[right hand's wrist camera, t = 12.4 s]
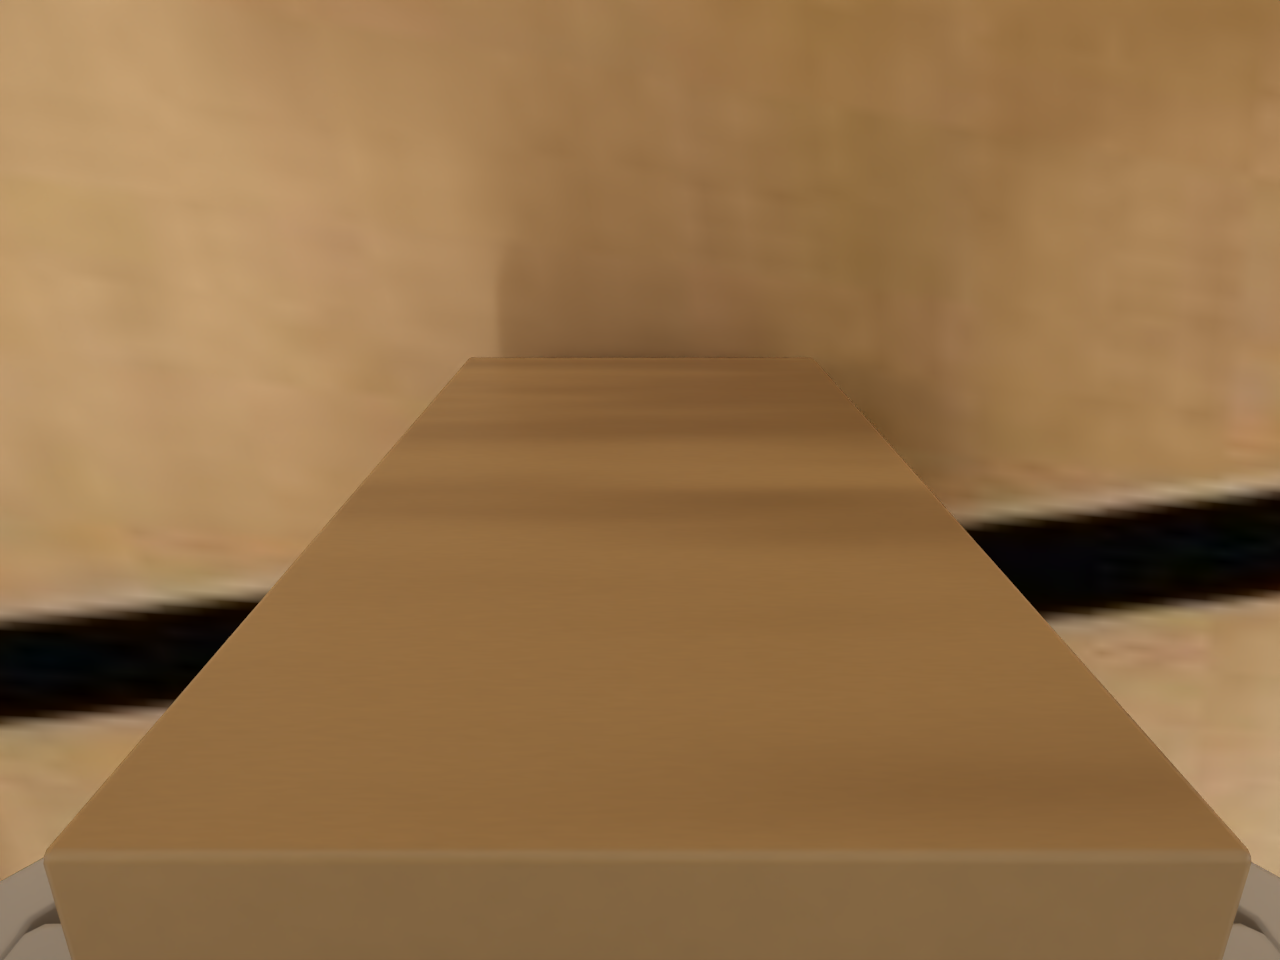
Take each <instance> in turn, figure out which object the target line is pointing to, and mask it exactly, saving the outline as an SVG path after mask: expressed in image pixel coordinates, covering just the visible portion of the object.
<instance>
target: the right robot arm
mask: <svg viewBox="0 0 1280 960" xmlns="http://www.w3.org/2000/svg"><path fill="white" fill-rule="evenodd" d="M43 862H44V858H42V859H40V860H38V861H37V862H35V863H33V864H31V865H29V866H28V867H26V868H24V869H22V870H20V871H18V872H17V873H15V874H13V875H11V876H9V877H8V878H6V879H4V880H2V881H0V960H71V957H70V953H69V950H68V946H67V943H66V939H65V936H64V933H63V929H62V926H61V922H60V919H59V916H58V912H57V909H56V905H55V902H54V899H53V895H52V892H51V888H50V885H49V882H48V878H47V875H46V871H45V868H44V865H43ZM1222 960H1280V877H1278V876H1276V875H1274V874H1272V873H1270V872H1269V871H1267V870H1265V869H1263V868H1261V867H1260V866H1258V865H1256V864H1254V863H1252V862H1251V866H1250V870H1249V873H1248V876H1247V879H1246V883H1245V886H1244V889H1243V893H1242V896H1241V899H1240V903H1239V906H1238V909H1237V912H1236V916H1235V919H1234V922H1233V926H1232V929H1231V932H1230V936H1229V939H1228V942H1227V946H1226V949H1225V952H1224V955H1223V959H1222Z"/></svg>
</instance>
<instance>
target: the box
mask: <svg viewBox="0 0 1280 960" xmlns="http://www.w3.org/2000/svg"><path fill="white" fill-rule="evenodd" d="M43 865H44V868H45V871H46V875H47V878H48V882H49V885H50V888H51V892H52V895H53V899H54V902H55V905H56V909H57V912H58V916H59V919H60V922H61V926H62V929H63V933H64V936H65V939H66V943H67V946H68V950H69V953H70V957H71V960H1222V959H1223V955H1224V952H1225V949H1226V946H1227V942H1228V939H1229V936H1230V932H1231V929H1232V926H1233V922H1234V919H1235V916H1236V912H1237V909H1238V906H1239V903H1240V899H1241V896H1242V893H1243V889H1244V886H1245V883H1246V879H1247V876H1248V873H1249V870H1250V866H1251V856H1250V854H1249V851H1248V849H1247V848H1246V847H1245V845H1244V844H1243V843H1242V842H1241V841H1240V840H1239V839H1238V838H1237V836H1236V835H1235V834H1234V833H1233V832H1232V831H1231V830H1230V829H1229V827H1228V826H1227V825H1226V824H1225V823H1224V822H1223V821H1222V820H1221V818H1220V817H1219V816H1218V815H1217V814H1216V813H1215V812H1214V810H1213V809H1212V808H1211V807H1210V806H1209V805H1208V804H1207V803H1206V801H1205V800H1204V799H1203V798H1202V797H1201V796H1200V795H1199V794H1198V792H1197V791H1196V790H1195V789H1194V788H1193V787H1192V786H1191V785H1190V783H1189V782H1188V781H1187V780H1186V779H1185V778H1184V777H1183V775H1182V774H1181V773H1180V772H1179V771H1178V770H1177V769H1176V768H1175V766H1174V765H1173V764H1172V763H1171V762H1170V761H1169V760H1168V759H1167V757H1166V756H1165V755H1164V754H1163V753H1162V752H1161V751H1160V749H1159V748H1158V747H1157V746H1156V745H1155V744H1154V743H1153V742H1152V740H1151V739H1150V738H1149V737H1148V736H1147V735H1146V734H1145V733H1144V731H1143V730H1142V729H1141V728H1140V727H1139V726H1138V725H1137V724H1136V722H1135V721H1134V720H1133V719H1132V718H1131V717H1130V716H1129V714H1128V713H1127V712H1126V711H1125V710H1124V709H1123V708H1122V707H1121V705H1120V704H1119V703H1118V702H1117V701H1116V700H1115V699H1114V698H1113V696H1112V695H1111V694H1110V693H1109V692H1108V691H1107V690H1106V689H1105V687H1104V686H1103V685H1102V684H1101V683H1100V682H1099V681H1098V679H1097V678H1096V677H1095V676H1094V675H1093V674H1092V673H1091V672H1090V670H1089V669H1088V668H1087V667H1086V666H1085V665H1084V664H1083V663H1082V661H1081V660H1080V659H1079V658H1078V657H1077V656H1076V655H1075V654H1074V652H1073V651H1072V650H1071V649H1070V648H1069V647H1068V646H1067V644H1066V643H1065V642H1064V641H1063V640H1062V639H1061V638H1060V637H1059V635H1058V634H1057V633H1056V632H1055V631H1054V630H1053V629H1052V628H1051V626H1050V625H1049V624H1048V623H1047V622H1046V621H1045V620H1044V619H1043V617H1042V616H1041V615H1040V614H1039V613H1038V612H1037V611H1036V609H1035V608H1034V607H1033V606H1032V605H1031V604H1030V603H1029V602H1028V600H1027V599H1026V598H1025V597H1024V596H1023V595H1022V594H1021V593H1020V591H1019V590H1018V589H1017V588H1016V587H1015V586H1014V585H1013V584H1012V582H1011V581H1010V580H1009V579H1008V578H1007V577H1006V576H1005V574H1004V573H1003V572H1002V571H1001V570H1000V569H999V568H998V567H997V565H996V564H995V563H994V562H993V561H992V560H991V559H990V558H989V556H988V555H987V554H986V553H985V552H984V551H983V550H982V548H981V547H980V546H979V545H978V544H977V543H976V542H975V541H974V539H973V538H972V537H971V536H970V535H969V534H968V533H967V532H966V530H965V529H964V528H963V527H962V526H961V525H960V524H959V523H958V521H957V520H956V519H955V518H954V517H953V516H952V515H951V513H950V512H949V511H948V510H947V509H946V508H945V507H944V506H943V504H942V503H941V502H940V501H939V500H938V499H937V498H936V497H935V495H934V494H933V493H932V492H931V491H930V490H929V489H928V488H927V486H926V485H925V484H924V483H923V482H922V481H921V480H920V478H919V477H918V476H917V475H916V474H915V473H914V472H913V471H912V469H911V468H910V467H909V466H908V465H907V464H906V463H905V462H904V460H903V459H902V458H901V457H900V456H899V455H898V454H897V453H896V451H895V450H894V449H893V448H892V447H891V446H890V445H889V443H888V442H887V441H886V440H885V439H884V438H883V437H882V436H881V434H880V433H879V432H878V431H877V430H876V429H875V428H874V427H873V425H872V424H871V423H870V422H869V421H868V420H867V419H866V418H865V416H864V415H863V414H862V413H861V412H860V411H859V410H858V408H857V407H856V406H855V405H854V404H853V403H852V402H851V401H850V399H849V398H848V397H847V396H846V395H845V394H844V393H843V392H842V390H841V389H840V388H839V387H838V386H837V385H836V384H835V383H834V381H833V380H832V379H831V378H830V377H829V376H828V375H827V373H826V372H825V371H824V370H823V369H822V368H821V367H820V366H819V364H818V363H817V362H816V361H815V360H814V359H813V358H470V359H468V361H467V362H466V363H465V364H464V365H463V366H462V368H461V369H460V370H459V371H458V372H457V373H456V375H455V376H454V377H453V378H452V379H451V380H450V382H449V383H448V384H447V385H446V386H445V387H444V389H443V390H442V391H441V392H440V393H439V394H438V395H437V397H436V398H435V399H434V400H433V401H432V402H431V404H430V405H429V406H428V407H427V408H426V409H425V411H424V412H423V413H422V414H421V415H420V416H419V418H418V419H417V420H416V421H415V422H414V423H413V425H412V426H411V427H410V428H409V429H408V430H407V432H406V433H405V434H404V435H403V436H402V437H401V439H400V440H399V441H398V442H397V443H396V444H395V445H394V447H393V448H392V449H391V450H390V451H389V452H388V454H387V455H386V456H385V457H384V458H383V459H382V461H381V462H380V463H379V464H378V465H377V466H376V468H375V469H374V470H373V471H372V472H371V473H370V475H369V476H368V477H367V478H366V479H365V480H364V482H363V483H362V484H361V485H360V486H359V487H358V488H357V490H356V491H355V492H354V493H353V494H352V495H351V497H350V498H349V499H348V500H347V501H346V502H345V504H344V505H343V506H342V507H341V508H340V509H339V511H338V512H337V513H336V514H335V515H334V516H333V518H332V519H331V520H330V521H329V522H328V523H327V525H326V526H325V527H324V528H323V529H322V530H321V531H320V533H319V534H318V535H317V536H316V537H315V538H314V540H313V541H312V542H311V543H310V544H309V545H308V547H307V548H306V549H305V550H304V551H303V552H302V554H301V555H300V556H299V557H298V558H297V559H296V561H295V562H294V563H293V564H292V565H291V566H290V568H289V569H288V570H287V571H286V572H285V573H284V575H283V576H282V577H281V578H280V579H279V580H278V581H277V583H276V584H275V585H274V586H273V587H272V588H271V590H270V591H269V592H268V593H267V594H266V595H265V597H264V598H263V599H262V600H261V601H260V602H259V604H258V605H257V606H256V607H255V608H254V609H253V611H252V612H251V613H250V614H249V615H248V616H247V618H246V619H245V620H244V621H243V622H242V623H241V624H240V626H239V627H238V628H237V629H236V630H235V631H234V633H233V634H232V635H231V636H230V637H229V638H228V640H227V641H226V642H225V643H224V644H223V645H222V647H221V648H220V649H219V650H218V651H217V652H216V654H215V655H214V656H213V657H212V658H211V659H210V661H209V662H208V663H207V664H206V665H205V666H204V668H203V669H202V670H201V671H200V672H199V673H198V674H197V676H196V677H195V678H194V679H193V680H192V681H191V683H190V684H189V685H188V686H187V687H186V688H185V690H184V691H183V692H182V693H181V694H180V695H179V697H178V698H177V699H176V700H175V701H174V702H173V704H172V705H171V706H170V707H169V708H168V709H167V711H166V712H165V713H164V714H163V715H162V716H161V717H160V719H159V720H158V721H157V722H156V723H155V724H154V726H153V727H152V728H151V729H150V730H149V731H148V733H147V734H146V735H145V736H144V737H143V738H142V740H141V741H140V742H139V743H138V744H137V745H136V747H135V748H134V749H133V750H132V751H131V752H130V754H129V755H128V756H127V757H126V758H125V759H124V761H123V762H122V763H121V764H120V765H119V766H118V767H117V769H116V770H115V771H114V772H113V773H112V774H111V776H110V777H109V778H108V779H107V780H106V781H105V783H104V784H103V785H102V786H101V787H100V788H99V790H98V791H97V792H96V793H95V794H94V795H93V797H92V798H91V799H90V800H89V801H88V802H87V804H86V805H85V806H84V807H83V808H82V809H81V810H80V812H79V813H78V814H77V815H76V816H75V817H74V819H73V820H72V821H71V822H70V823H69V824H68V826H67V827H66V828H65V829H64V830H63V831H62V833H61V834H60V835H59V836H58V837H57V838H56V840H55V841H54V842H53V843H52V844H51V845H50V847H49V848H48V849H47V851H46V853H45V856H44V862H43Z"/></svg>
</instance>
